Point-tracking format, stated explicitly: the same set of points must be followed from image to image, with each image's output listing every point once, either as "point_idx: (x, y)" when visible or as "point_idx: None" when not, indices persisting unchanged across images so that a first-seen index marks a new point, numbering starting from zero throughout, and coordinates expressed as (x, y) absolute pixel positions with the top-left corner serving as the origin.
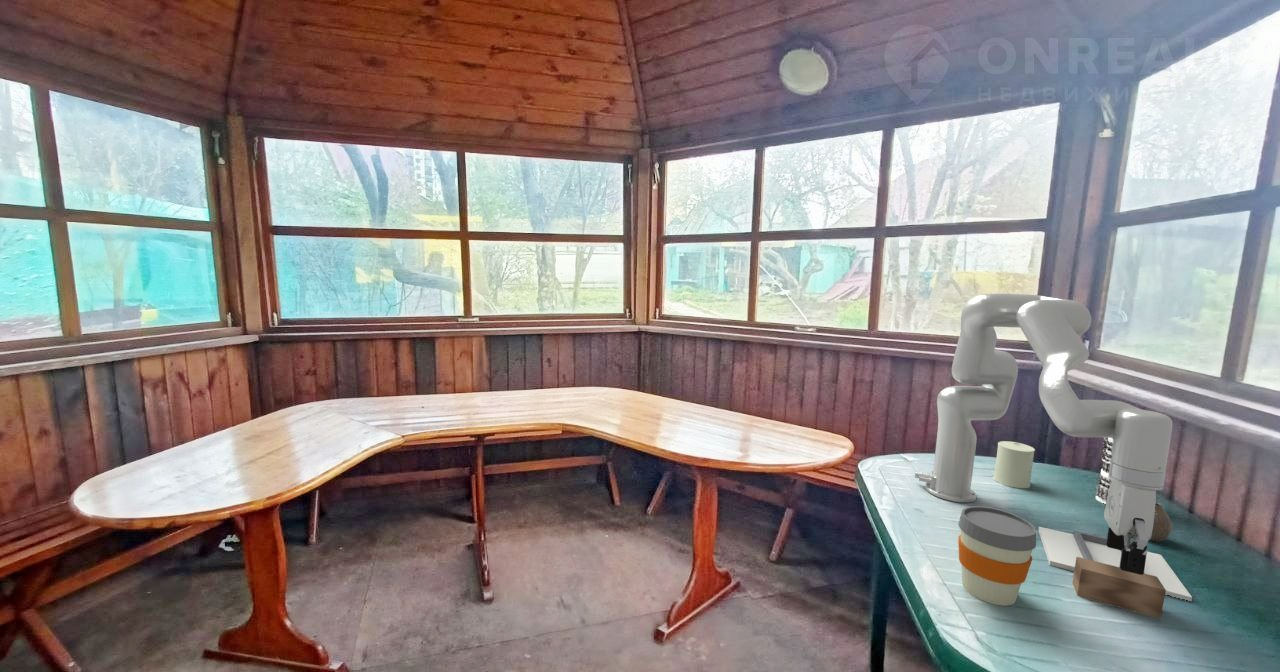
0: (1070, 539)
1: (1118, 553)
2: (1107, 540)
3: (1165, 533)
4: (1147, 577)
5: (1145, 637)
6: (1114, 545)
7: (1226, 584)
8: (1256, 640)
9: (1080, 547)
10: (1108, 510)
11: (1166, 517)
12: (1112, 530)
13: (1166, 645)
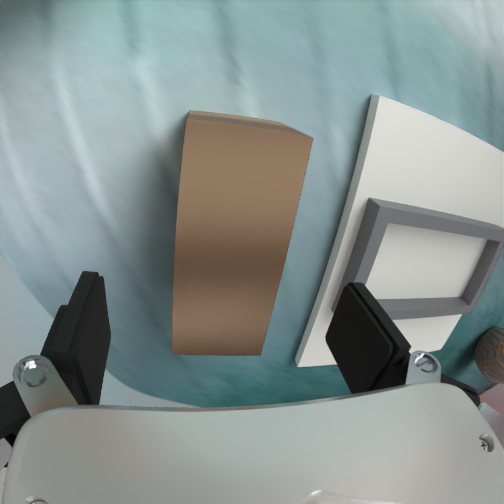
0: (489, 213)
1: (445, 291)
2: (366, 298)
3: (479, 365)
4: (238, 334)
5: (54, 232)
6: (345, 311)
7: None
8: (194, 397)
9: (457, 218)
10: (408, 502)
11: (496, 381)
12: (132, 413)
13: (51, 264)
